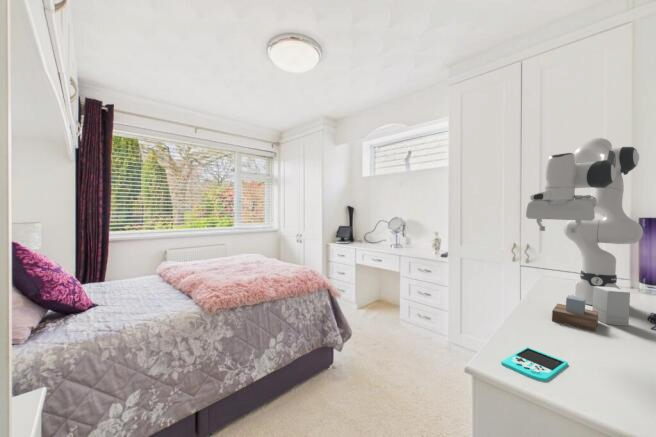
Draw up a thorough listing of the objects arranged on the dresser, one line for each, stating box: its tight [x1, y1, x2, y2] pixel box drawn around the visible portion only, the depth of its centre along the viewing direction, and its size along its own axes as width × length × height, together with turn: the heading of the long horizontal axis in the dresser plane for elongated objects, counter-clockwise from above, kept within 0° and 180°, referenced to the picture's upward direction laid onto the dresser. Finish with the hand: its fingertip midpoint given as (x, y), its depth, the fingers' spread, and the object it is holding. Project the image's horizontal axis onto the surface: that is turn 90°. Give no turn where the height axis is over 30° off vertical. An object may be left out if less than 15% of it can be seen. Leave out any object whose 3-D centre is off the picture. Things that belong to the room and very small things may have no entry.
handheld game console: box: [500, 346, 569, 382], centre depth 75 cm, size 10×16×1 cm, turn 123°
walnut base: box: [551, 303, 599, 332], centre depth 105 cm, size 12×12×4 cm
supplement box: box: [592, 286, 631, 327], centre depth 106 cm, size 7×7×13 cm
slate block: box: [565, 295, 586, 315], centre depth 105 cm, size 5×5×5 cm
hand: (557, 231), depth 107 cm, fingers open, 8 cm apart
